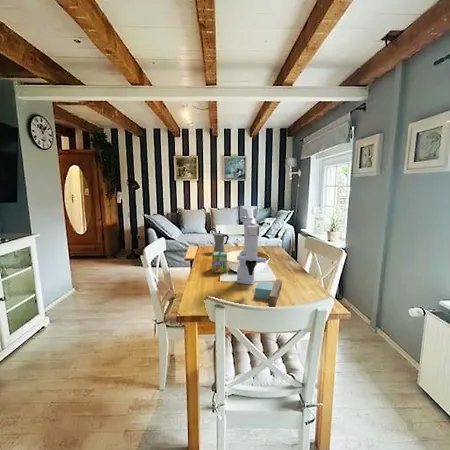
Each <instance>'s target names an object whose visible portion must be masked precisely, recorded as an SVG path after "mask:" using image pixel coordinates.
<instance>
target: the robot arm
mask: <svg viewBox="0 0 450 450" xmlns="http://www.w3.org/2000/svg"><path fill="white" fill-rule="evenodd" d="M257 216H258V206H256V205H240V206H239V220H240V222H241V223H243V238H244V239H243V243H244V246H243V250H242V251H240V253H239V255H237V256H236V258H237V259H236V260H237V261H239V265H238V267H237V270H236V272H237V273H236V283H238V284H246V285H254V284H255V282H256V279H255V268H256V267H257V265H258V263H263V264H266V262H267V258H266V257H260V256H258V241H259V236H260V226H259V225H258V223H257Z"/></svg>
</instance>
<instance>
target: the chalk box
mask: <svg viewBox="0 0 450 450" xmlns="http://www.w3.org/2000/svg"><path fill="white" fill-rule="evenodd" d="M221 250H222V249H220V252H214V251H212V254H211V255H212V256H211V271H212V273H214V274H215V273H221V274H223V273H225V274H226V273H227V272H228V271H227V270H228V269H227V268H228V267H227V263H228V253H227V251H225V252H221Z"/></svg>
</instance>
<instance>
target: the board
mask: <svg viewBox="0 0 450 450" xmlns="http://www.w3.org/2000/svg"><path fill="white" fill-rule="evenodd" d="M282 283H283V280H282V279H275V281H274V286H273V288H272V291H271V293H270V295H269V299H268V306H274V307H276V305H277V302H278V299H279V297H280V293H281V290H282Z"/></svg>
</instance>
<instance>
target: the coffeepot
mask: <svg viewBox="0 0 450 450" xmlns="http://www.w3.org/2000/svg"><path fill="white" fill-rule="evenodd" d="M212 236H213V240H214V247H213V252H220V249H222V250H221V252H226V251H225V247H224V245H227V244H228V241H229V235H228V234H226V233H221V230H218V232H216V233H215V232H214V233H212ZM225 237H226V239H225Z"/></svg>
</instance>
